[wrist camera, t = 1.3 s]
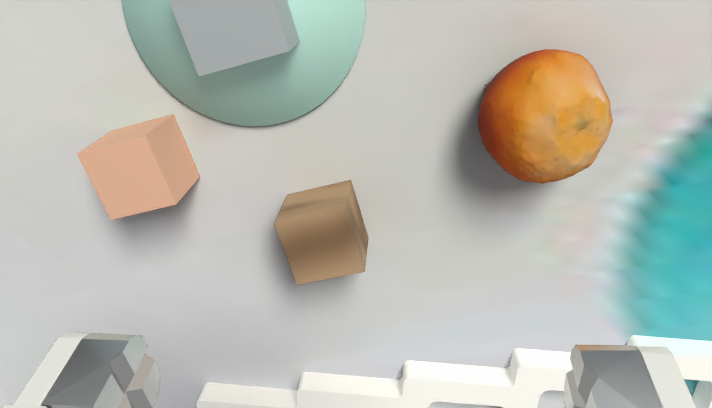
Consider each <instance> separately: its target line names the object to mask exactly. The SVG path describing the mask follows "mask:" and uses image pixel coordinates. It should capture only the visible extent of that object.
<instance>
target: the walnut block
mask: <svg viewBox="0 0 712 408" xmlns="http://www.w3.org/2000/svg"><path fill="white" fill-rule="evenodd" d="M274 226H275V228H276V231H277V234H278V236H279V239H280V242H281V244H282V247H283V249H284V252H285V255H286V257H287V260H288V263H289V265H290V268H291V271H292V273H293V276H294V278H295V281H296V284H297V285H301V284H306V283H311V282H316V281H321V280H326V279H331V278H336V277H341V276H346V275H351V274H356V273H361V272H365V265H366V256H367V246H368V234H367V231H366V228H365V225H364V221H363V218H362V215H361V212H360V208H359V205H358V202H357V198H356V195H355V192H354V189H353V185H352V182H351V180H348V181H344V182H340V183H335V184H331V185H327V186H322V187H318V188H314V189H309V190H305V191H301V192H296V193H292V194H288V195H287V197H286V199H285V201H284V203H283V206H282V208H281V210H280V212H279V214H278V217H277V219H276V221H275V223H274Z"/></svg>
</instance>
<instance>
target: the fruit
mask: <svg viewBox="0 0 712 408" xmlns="http://www.w3.org/2000/svg"><path fill="white" fill-rule="evenodd" d="M485 86H486V88H485V91H484V95H483V98H482V101H481V105H480V110H479V116H478V126H479V132H480V135H481V138H482V142H483V144H484V146H485V148H486V149H487V151H488V152H489V153H490V155H491V156H492V157H493V158H494V159H495V160H496V162H497V163H498V164H499V165H500V166H501V167H502V168H503V169H504V170H505V171H507V172H508V173H510V174H511V175H513V176H514V177H516V178H518V179H520V180H523V181H527V182H537V183H547V182H554V181H558V180H562V179H565V178H568V177H570V176H573V175H575V174H576V173H578V172H580V171H582V170H583V169H585V168H587V167H589V166H590V165H591V164H592V163H593V162H594V160H595V158H596V157H597V155H598V153H599V151H600V149H601V147H602V146H603V145H604V143H605V142H606V140H607V137H608V135H609V132H610V128H611V125H612V122H613V120H612V115H611V110H610V101H609V98H608V96H607V94H606V92H605V91H604V89H603V86H602V84H601V82H600V80H599V78H598V75H597V73H596V71H595V70H594V68H593V66H592V65H591V64H590V63H589V62H588V61H587V60H586V59H585V58H584V57H583V56H581V55H579V54H575V53H572V52H568V51H562V50H540V51H535V52H532V53H529V54H527V55H524V56H522V57H520V58H518V59H516V60H514V61H513V62H511V63H510V64H508V65H507V66H506V67H505V68H503V69H502V70H501V71H500V72H499V73H498V74H497V75H496V76H495V78H494V79H493V80H492V81H491V82H489V83H488V84H487V85H485Z"/></svg>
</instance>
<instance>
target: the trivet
mask: <svg viewBox="0 0 712 408" xmlns="http://www.w3.org/2000/svg"><path fill="white" fill-rule="evenodd" d="M626 345H630V346H634V347H635V346H645V347H667V348H668V349H669V350H670V351H671V352H672V354H673V356H674V359H675V361H676V363H677V365H678V367H679V370H680V372H681V374H682V376H683V379H689V380H699V382H698V384H697V386H696V389H695V391H694V394H693V396H692V399H693V401H694V403H695V405H696V408H712V341H701V340H688V339H675V338H662V337H649V336H636V335H633V336H631V337H629V339H628V341H627V344H626ZM570 356H571V352H559V351H547V350H534V349H522V348H516V349H514V350H513V352H512V357H511V362H510V365H509V367H507V368H497V367H484V366H472V365H460V364H447V363H435V362H423V361H410V360H407V361H405V362H404V366H403V376H402V378H401V379H386V378H374V377H362V376H350V375H338V374H326V373H314V372H303V373H302V374H301V378H300V382H299V386H298V390H290V389H278V388H266V387H255V386H243V385H231V384H219V383H205V385H204V387H203V389H202V391H201V394H200V396H199V398H198V400H197V403H196V405H197V408H428V406H429V405H430V404H431V403H433V402H436V401H441V402H453V403H465V404H477V405H489V406H500V407H501V408H537V405H538V401H539V397H540V395H541V394H542V393H543V392H545V391H548V390H557V391H564V383H565V378H566V373H568V372H569V371H571V370H572V369H573V368H572V364H571V360H570Z"/></svg>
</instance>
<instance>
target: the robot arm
mask: <svg viewBox="0 0 712 408" xmlns="http://www.w3.org/2000/svg"><path fill="white" fill-rule="evenodd" d="M147 348H148V345H147V343H146V342H145V340H144V338H143V336H140V335H121V334H102V333H79V332H66V333H64V334H63V335H62V336H60V337H59V338H58V339H57V340H56V342H55V343H54V345H53V346H52V348H51V349H50V351H49V352H48V354H47V355H46V356H45V358H44V359H43V361H42V362H41V364H40V365H39V367H38V368H37V370H36V371H35V373H34V374H33V376H32V377H31V379H30V380H29V382H28V383H27V385H26V386H25V388H24V389H23V391H22V392H21V394H20V395H19V397H18V398H17V399H16V401H15V402H14V404H6V405H4V406H3V407H2V408H153V405H154V403H155V400H156V398H157V395H158V391H159V384H160V374H159V368H158V366H157V364H156V362H155V360H153V359H152V358H150V357H149V356H147V355H146V354H145V352H146V350H147ZM570 360H571V364H572V368H573V369H572V370H571V371H569V372H568V373H566V378H565V383H564V404H565V408H696V405H695V403H694V401H693V399H692V397H691V394H690V392H689V390H688V388H687V385H686V383H685V381H684V379H683V376H682V374H681V372H680V370H679V367H678V365H677V363H676V361H675V359H674V356H673V354H672V352H671V351H670V350H669V349H668V348H667V347H645V346H635V347H634V346H630V345H575V346H574V347H573V348H572V352H571V356H570Z"/></svg>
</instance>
